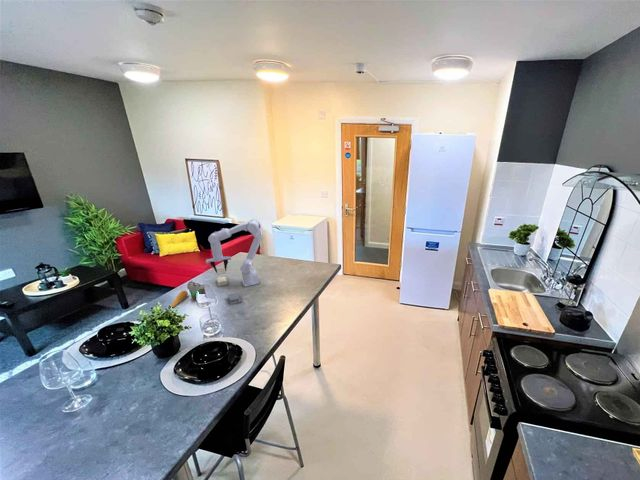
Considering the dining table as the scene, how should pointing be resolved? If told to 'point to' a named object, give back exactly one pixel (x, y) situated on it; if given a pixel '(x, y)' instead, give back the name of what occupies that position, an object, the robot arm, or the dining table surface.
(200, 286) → the food container
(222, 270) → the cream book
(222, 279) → the cream stack
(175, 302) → the carrot
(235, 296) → the grey stack
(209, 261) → the robot arm
